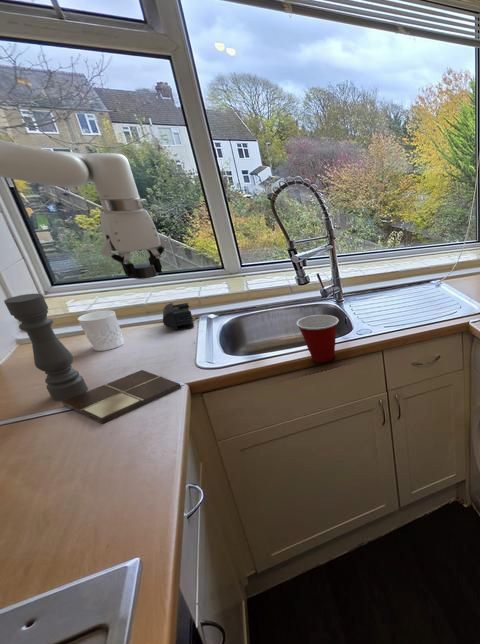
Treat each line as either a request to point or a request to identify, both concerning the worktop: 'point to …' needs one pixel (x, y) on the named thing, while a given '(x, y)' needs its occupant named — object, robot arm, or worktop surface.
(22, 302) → the candle holder
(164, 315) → the end cap
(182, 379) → the worktop surface
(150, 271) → the slate stone
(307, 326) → the plastic cup
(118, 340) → the white cup
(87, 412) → the grid board
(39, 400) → the worktop surface
